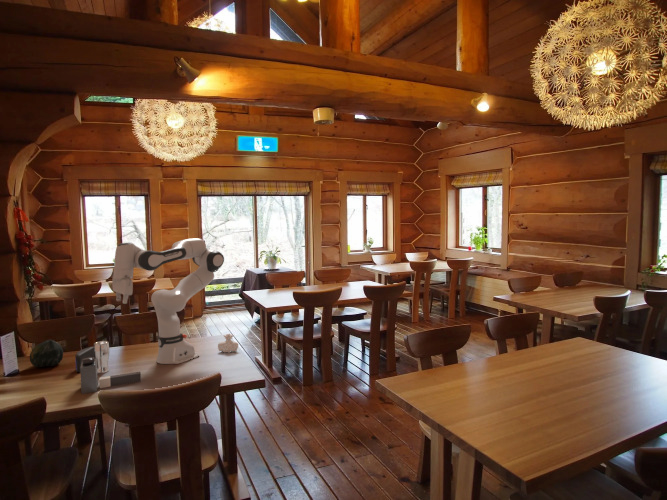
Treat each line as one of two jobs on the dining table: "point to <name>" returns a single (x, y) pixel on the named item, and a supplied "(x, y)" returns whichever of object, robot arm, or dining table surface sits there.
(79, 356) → the leaning round-cornered charcoal block
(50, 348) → the squash
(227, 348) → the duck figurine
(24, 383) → the dining table surface
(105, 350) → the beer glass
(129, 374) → the plug
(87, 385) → the block
